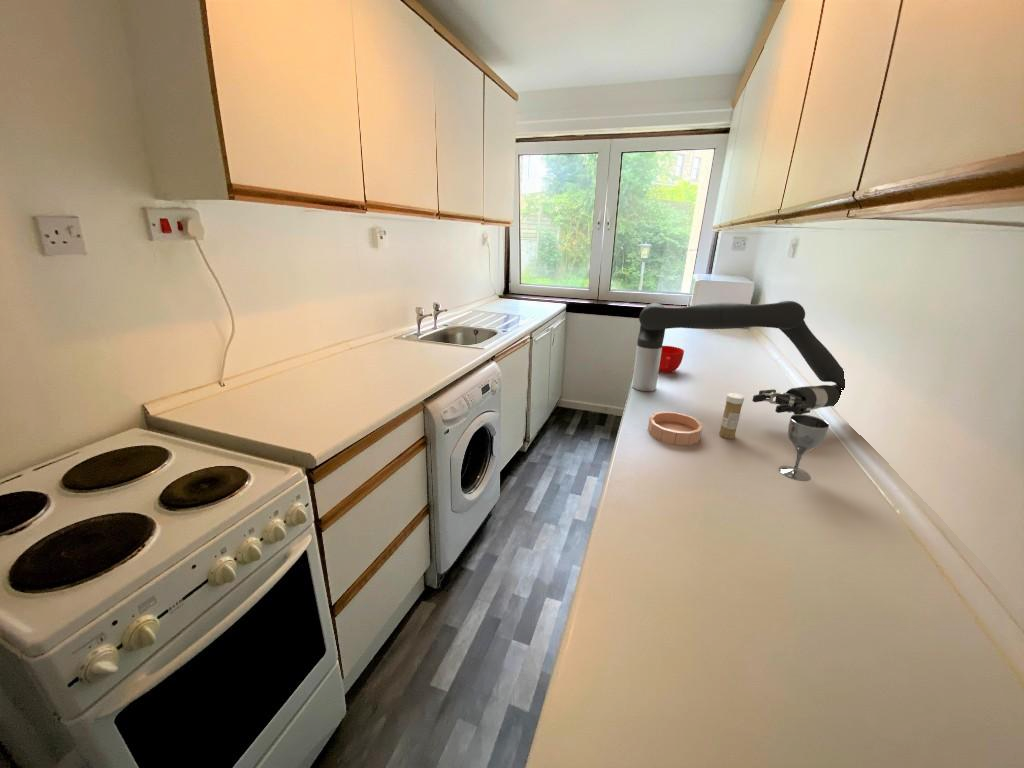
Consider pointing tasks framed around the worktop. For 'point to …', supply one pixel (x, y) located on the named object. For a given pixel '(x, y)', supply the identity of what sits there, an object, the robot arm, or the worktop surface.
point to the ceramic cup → (670, 359)
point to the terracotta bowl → (675, 428)
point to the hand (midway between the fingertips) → (765, 403)
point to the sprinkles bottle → (731, 415)
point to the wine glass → (804, 441)
